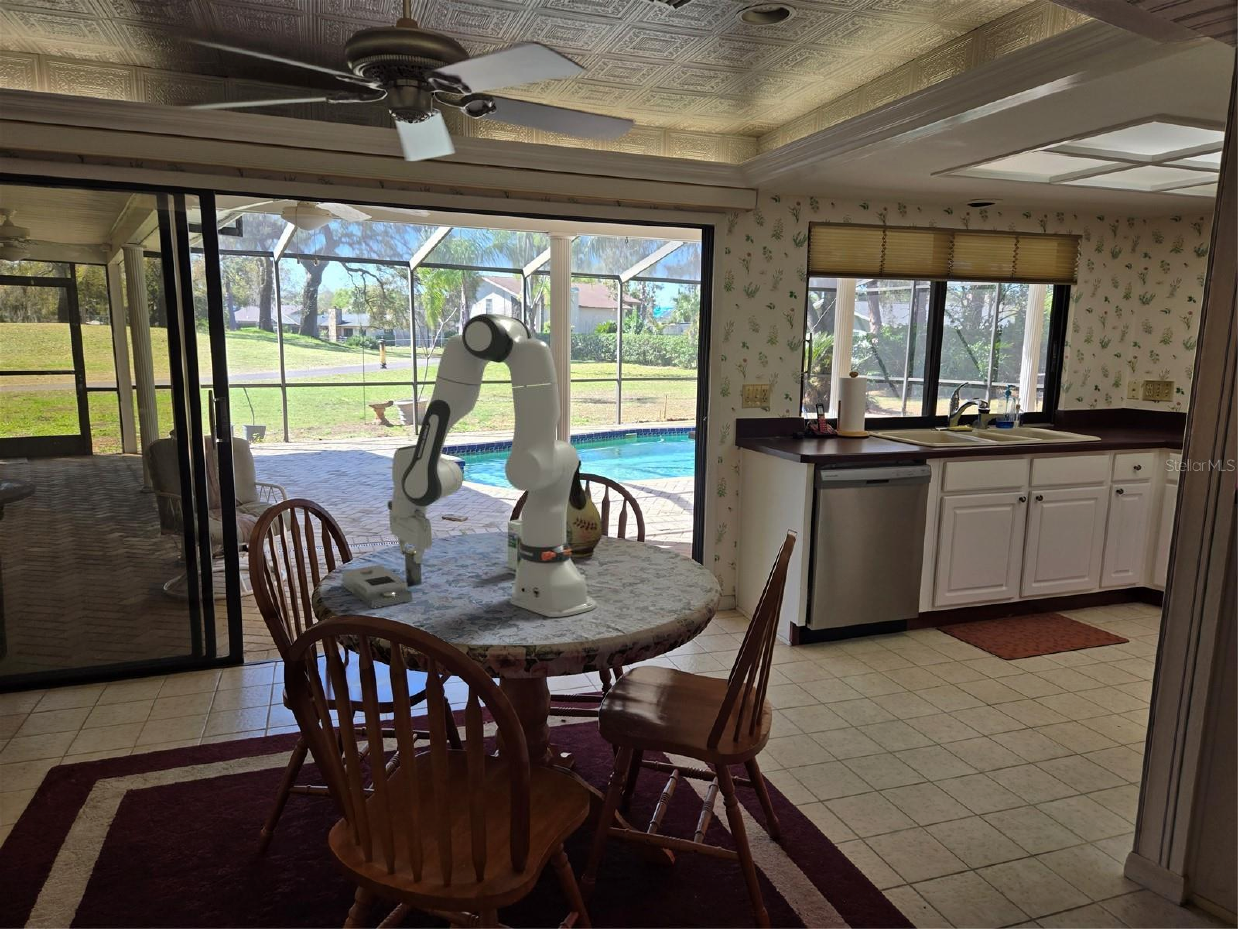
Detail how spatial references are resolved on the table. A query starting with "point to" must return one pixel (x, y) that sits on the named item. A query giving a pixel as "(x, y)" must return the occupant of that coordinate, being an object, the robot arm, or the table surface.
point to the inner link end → (385, 598)
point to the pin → (412, 569)
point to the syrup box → (514, 545)
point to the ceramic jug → (582, 520)
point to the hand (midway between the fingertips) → (411, 558)
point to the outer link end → (372, 581)
